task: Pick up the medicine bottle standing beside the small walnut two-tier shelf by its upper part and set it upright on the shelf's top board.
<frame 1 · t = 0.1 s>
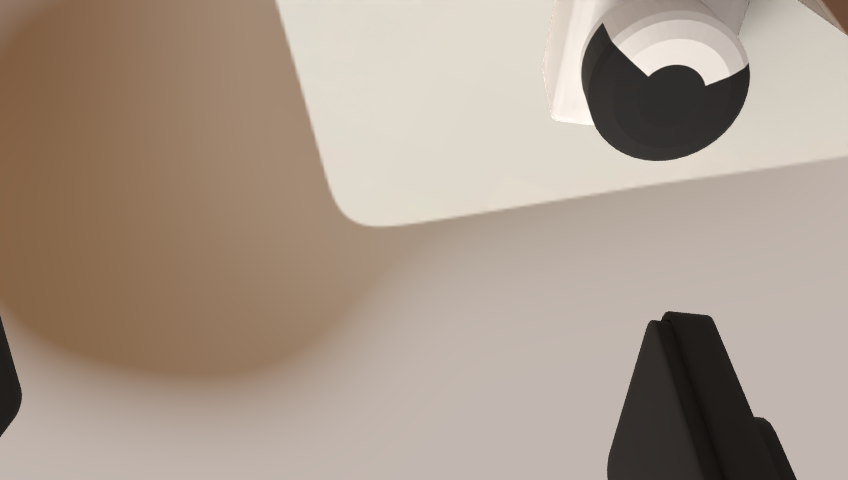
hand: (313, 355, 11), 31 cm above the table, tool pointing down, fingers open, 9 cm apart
medicine bottle: (621, 11, 38), on the table
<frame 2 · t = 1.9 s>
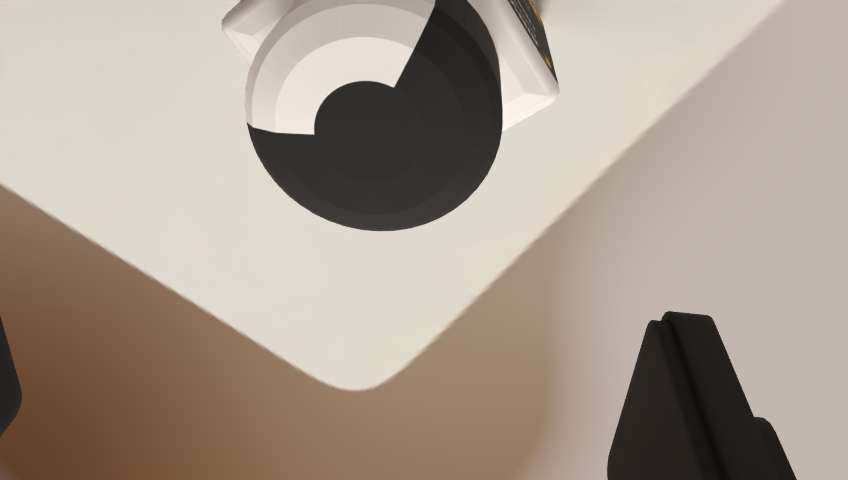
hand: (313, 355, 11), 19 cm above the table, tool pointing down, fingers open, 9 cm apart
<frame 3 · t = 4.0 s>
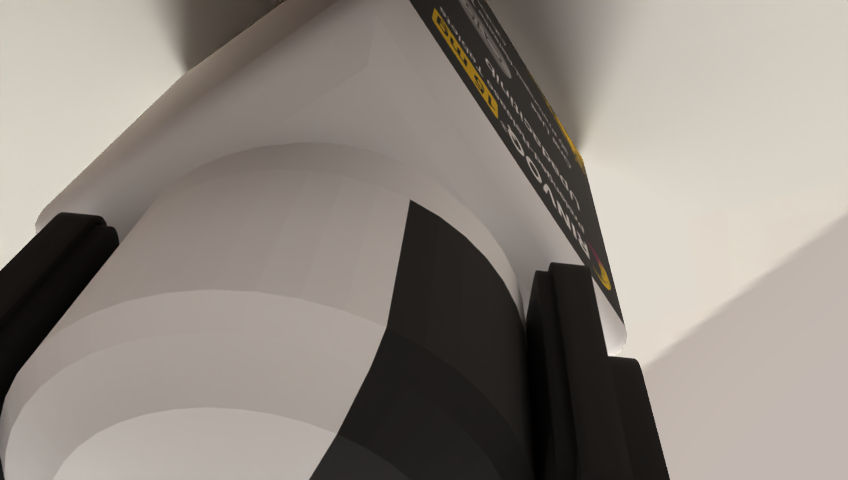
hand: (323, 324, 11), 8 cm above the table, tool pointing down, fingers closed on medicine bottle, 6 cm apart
medicine bottle: (385, 118, 18), on the table, touching gripper
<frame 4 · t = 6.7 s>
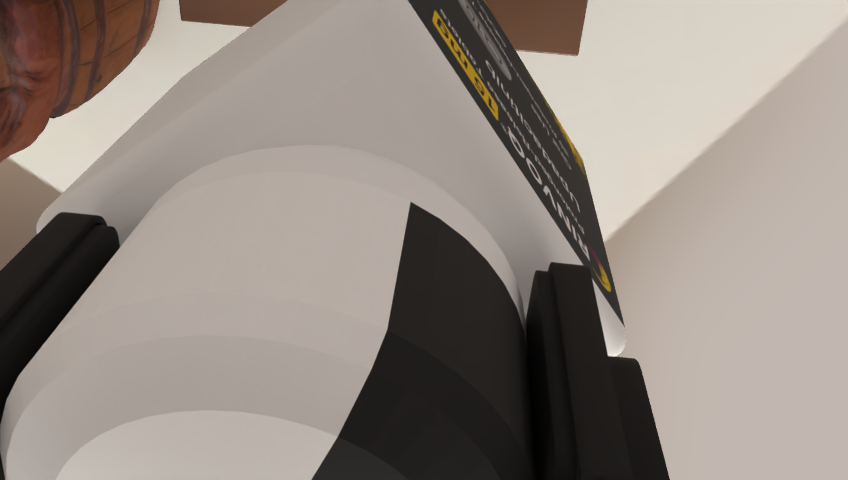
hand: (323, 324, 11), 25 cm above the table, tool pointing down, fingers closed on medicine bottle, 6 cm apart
medicine bottle: (386, 119, 18), point 17 cm above the table, touching gripper
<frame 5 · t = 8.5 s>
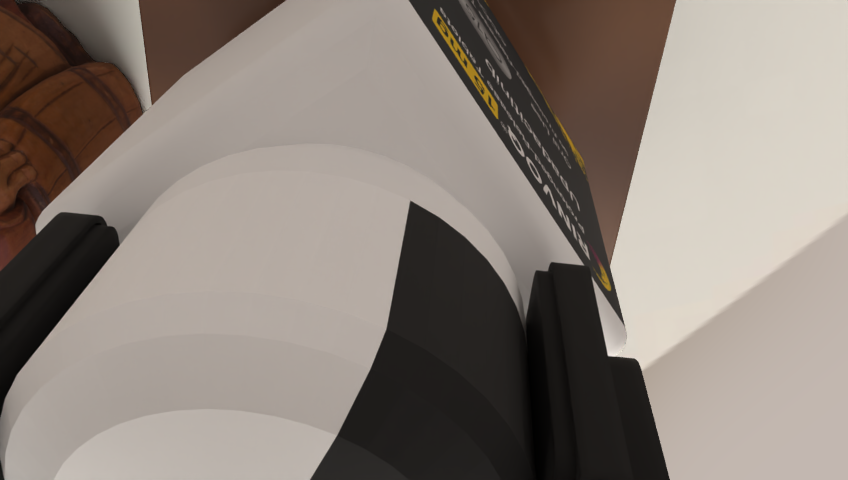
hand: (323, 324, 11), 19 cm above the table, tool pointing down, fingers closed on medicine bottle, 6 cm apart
wooden figurine: (47, 85, 31), on the table
walnut shelf: (423, 3, 28), on the table
medicine bottle: (385, 118, 18), point 11 cm above the table, touching gripper
when the fingers open (18 cm above the table, at t = 9.5 s): medicine bottle stays where it is, resting on walnut shelf.
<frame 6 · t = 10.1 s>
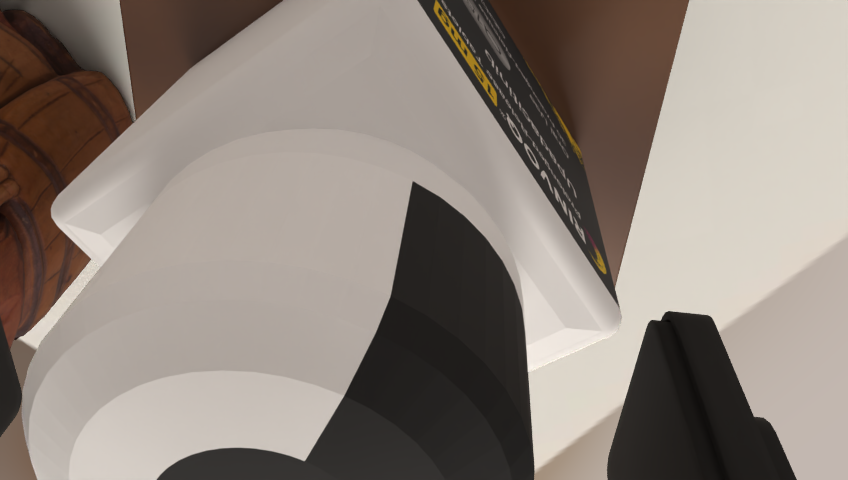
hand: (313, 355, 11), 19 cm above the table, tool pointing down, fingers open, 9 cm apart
wooden figurine: (35, 94, 30), on the table
walnut shelf: (421, 10, 27), on the table
medicine bottle: (388, 110, 19), point 10 cm above the table, touching walnut shelf
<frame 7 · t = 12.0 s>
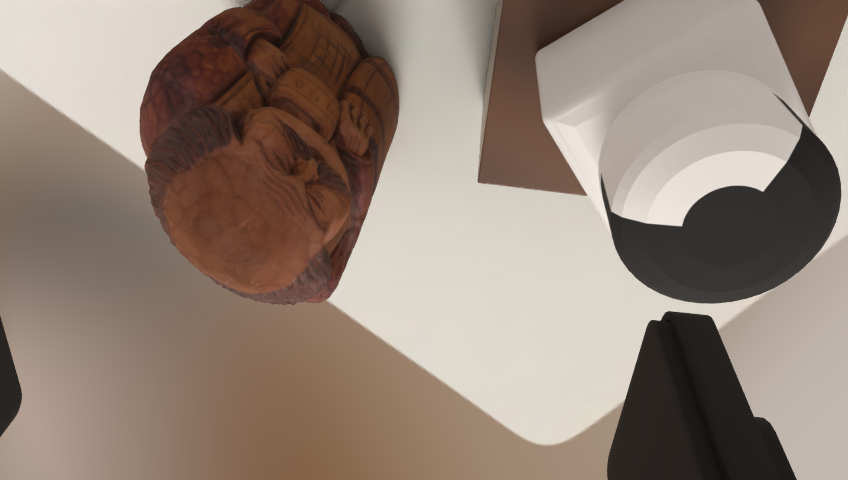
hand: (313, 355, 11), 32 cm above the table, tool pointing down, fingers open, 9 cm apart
wooden figurine: (328, 73, 42), on the table
walnut shelf: (620, 18, 39), on the table
medicine bottle: (651, 78, 30), point 10 cm above the table, touching walnut shelf
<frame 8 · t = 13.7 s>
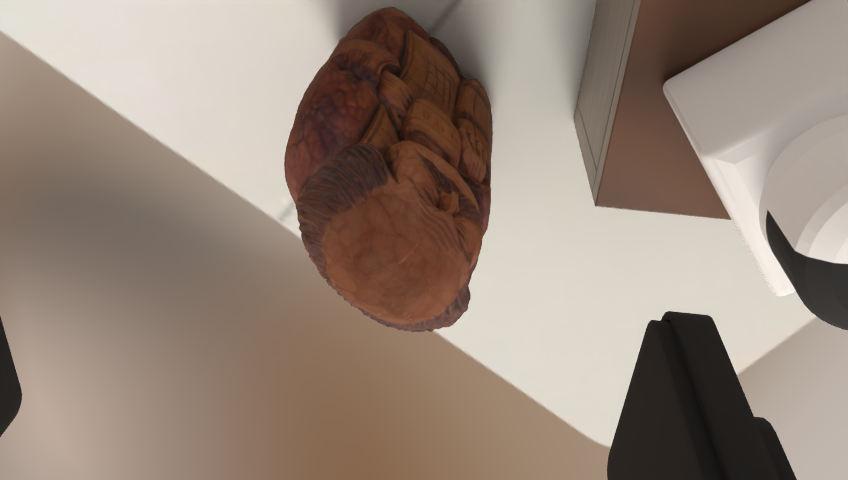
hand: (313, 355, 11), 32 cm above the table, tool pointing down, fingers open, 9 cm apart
wooden figurine: (421, 95, 43), on the table
walnut shelf: (714, 37, 40), on the table
medicine bottle: (773, 105, 31), point 10 cm above the table, touching walnut shelf
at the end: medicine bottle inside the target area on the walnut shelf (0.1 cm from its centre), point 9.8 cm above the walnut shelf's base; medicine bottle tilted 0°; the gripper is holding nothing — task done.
